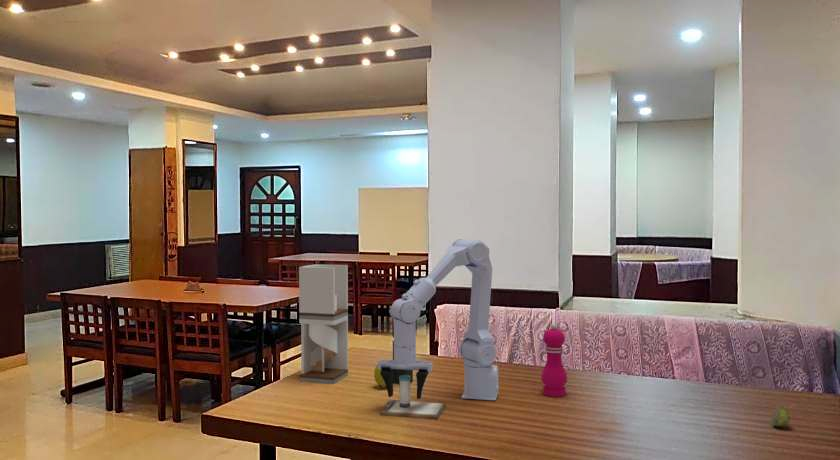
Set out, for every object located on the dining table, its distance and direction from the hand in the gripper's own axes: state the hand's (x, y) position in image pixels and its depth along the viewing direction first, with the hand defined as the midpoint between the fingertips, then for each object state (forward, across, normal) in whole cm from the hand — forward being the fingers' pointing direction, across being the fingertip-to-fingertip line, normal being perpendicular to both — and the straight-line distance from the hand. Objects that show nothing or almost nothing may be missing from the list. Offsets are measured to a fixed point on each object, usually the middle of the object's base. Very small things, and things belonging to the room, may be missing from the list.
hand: (404, 396), depth 162 cm
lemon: (+3, -11, +18) cm, 21 cm away
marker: (+2, 0, 0) cm, 2 cm away
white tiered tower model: (+3, -32, +24) cm, 40 cm away
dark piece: (+3, -7, +25) cm, 26 cm away
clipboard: (+3, +2, 0) cm, 4 cm away
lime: (+3, +91, +7) cm, 91 cm away
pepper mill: (+3, +38, +23) cm, 44 cm away
